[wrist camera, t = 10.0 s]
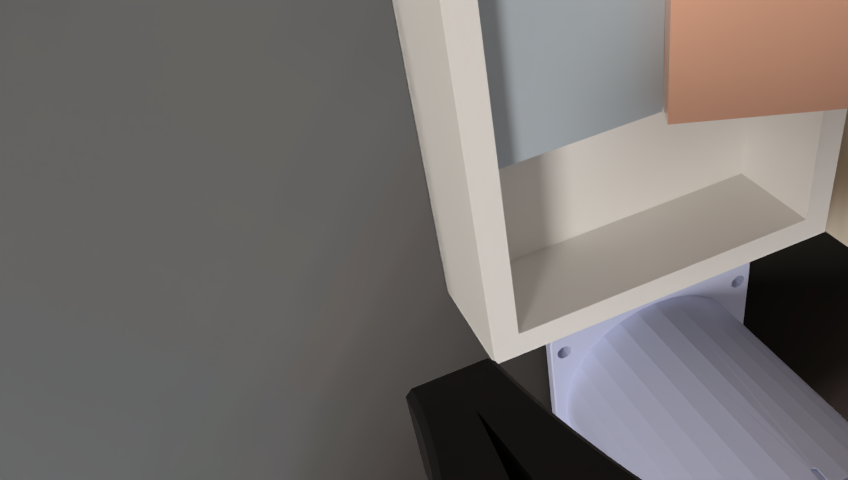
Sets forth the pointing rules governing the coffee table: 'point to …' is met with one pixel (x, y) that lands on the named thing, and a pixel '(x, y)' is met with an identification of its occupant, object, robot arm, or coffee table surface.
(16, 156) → the coffee table surface
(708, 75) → the terracotta tile
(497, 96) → the slate tile
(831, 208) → the ash board
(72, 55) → the coffee table surface
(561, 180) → the box
